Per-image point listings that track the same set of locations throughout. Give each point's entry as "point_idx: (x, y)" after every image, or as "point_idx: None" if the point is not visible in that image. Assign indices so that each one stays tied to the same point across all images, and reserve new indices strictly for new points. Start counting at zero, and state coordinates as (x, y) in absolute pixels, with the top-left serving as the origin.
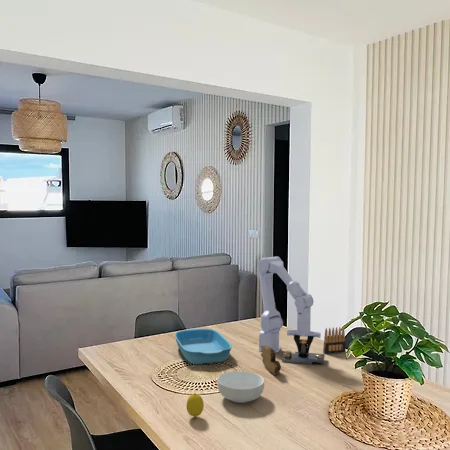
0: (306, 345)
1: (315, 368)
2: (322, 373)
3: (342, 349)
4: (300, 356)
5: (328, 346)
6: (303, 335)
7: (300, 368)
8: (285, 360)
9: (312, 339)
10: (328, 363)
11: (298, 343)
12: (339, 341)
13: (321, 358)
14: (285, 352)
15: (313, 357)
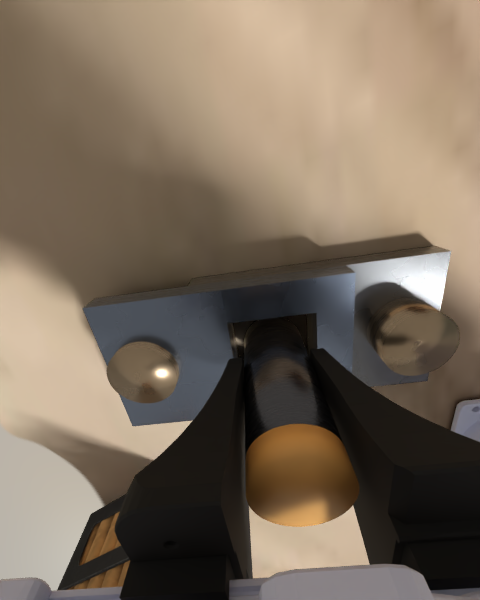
0: (249, 418)
1: (139, 204)
2: (35, 96)
3: (96, 527)
4: (295, 330)
5: None
6: (323, 592)
7: (256, 145)
8: (410, 252)
9: (121, 509)
10: (96, 344)
11: (361, 409)
12: (82, 586)
13: (116, 338)
14: (441, 338)
15: (183, 336)
